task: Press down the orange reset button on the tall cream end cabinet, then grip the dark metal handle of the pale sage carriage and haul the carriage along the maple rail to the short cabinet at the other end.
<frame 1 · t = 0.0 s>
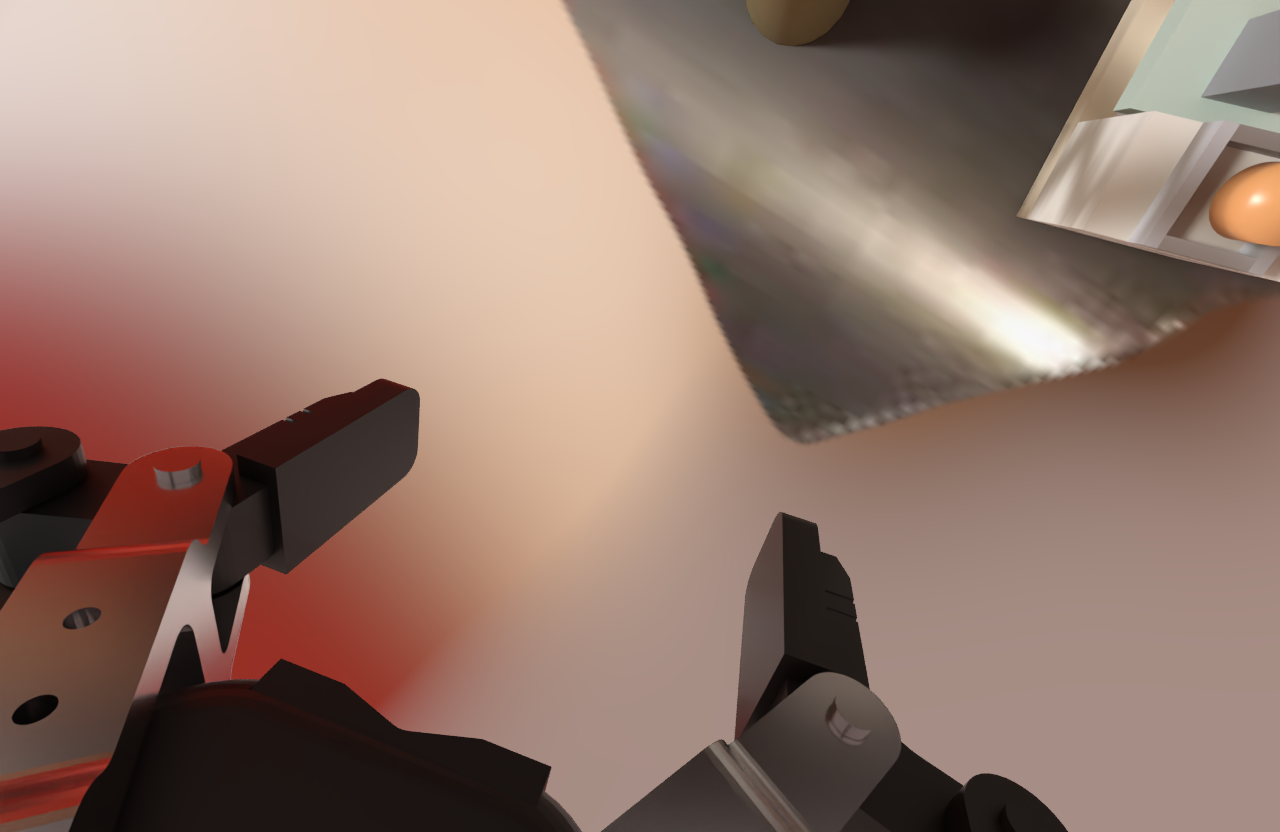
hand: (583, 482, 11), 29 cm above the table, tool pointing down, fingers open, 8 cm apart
reset button: (1275, 203, 21), point 11 cm above the table, slide at 0.0 cm
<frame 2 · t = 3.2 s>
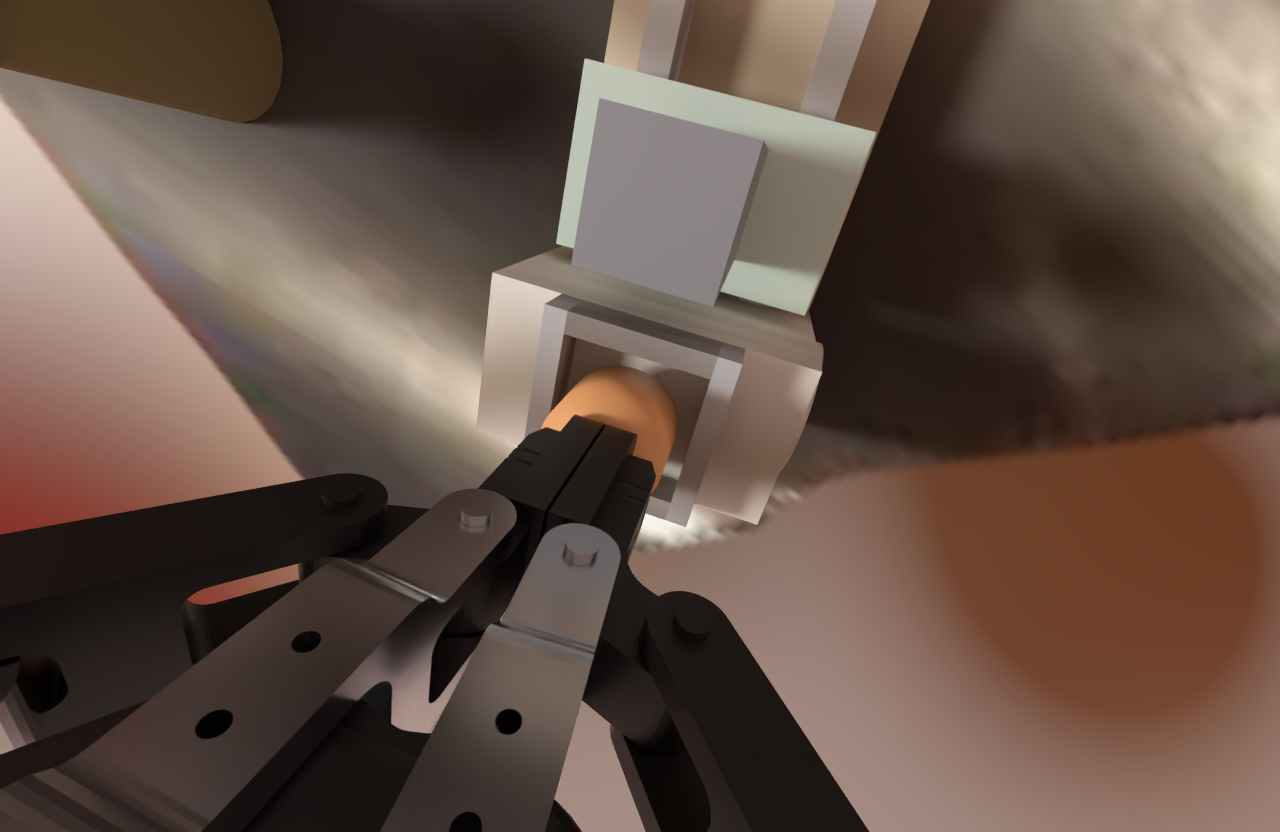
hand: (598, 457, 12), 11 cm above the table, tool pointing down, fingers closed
carriage: (688, 197, 13), point 7 cm above the table, slide at 4.5 cm
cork: (221, 38, 22), on the table
reset button: (611, 436, 13), point 10 cm above the table, slide at 0.8 cm, touching gripper
rail: (757, 42, 17), on the table
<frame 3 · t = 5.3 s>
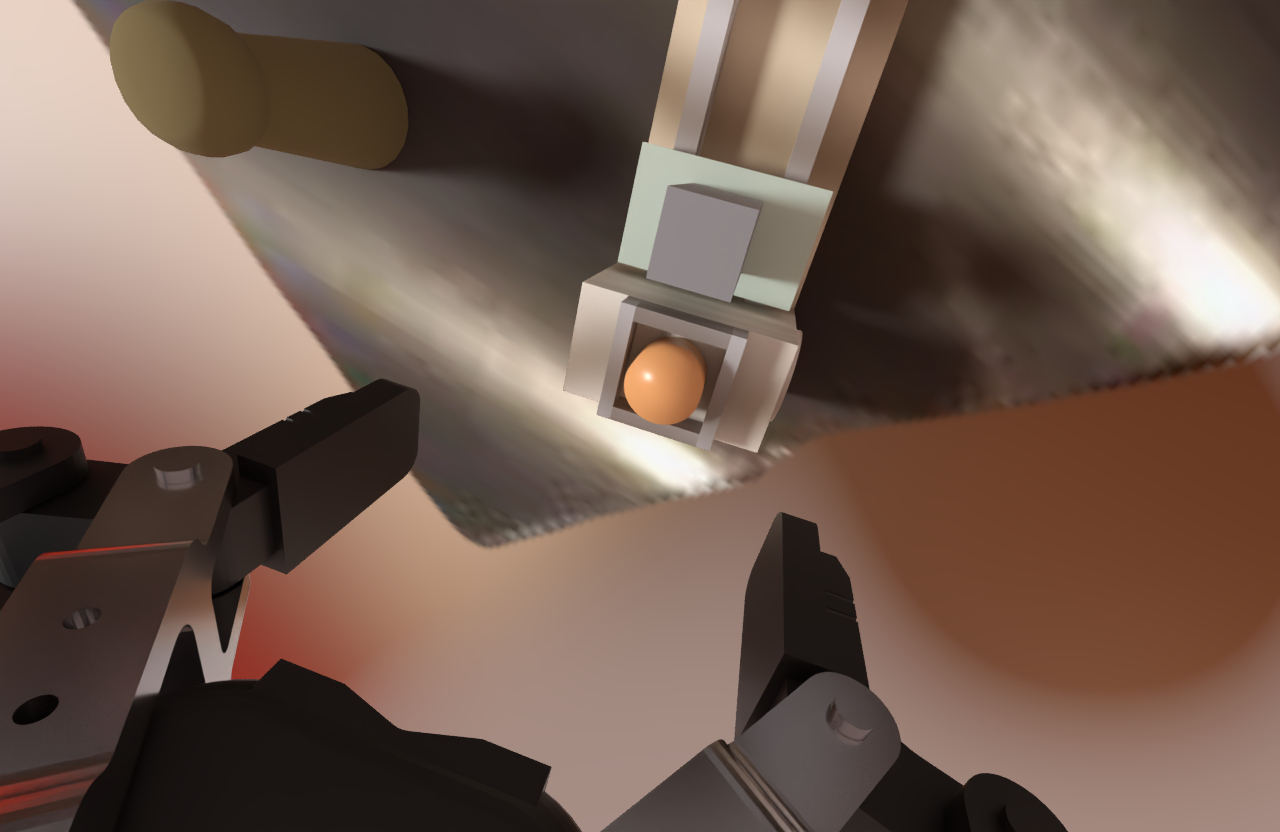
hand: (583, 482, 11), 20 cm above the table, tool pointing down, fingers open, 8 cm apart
carriage: (712, 234, 21), point 7 cm above the table, slide at 4.5 cm
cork: (361, 109, 29), on the table
reset button: (666, 380, 21), point 9 cm above the table, slide at 1.5 cm
rail: (756, 121, 25), on the table
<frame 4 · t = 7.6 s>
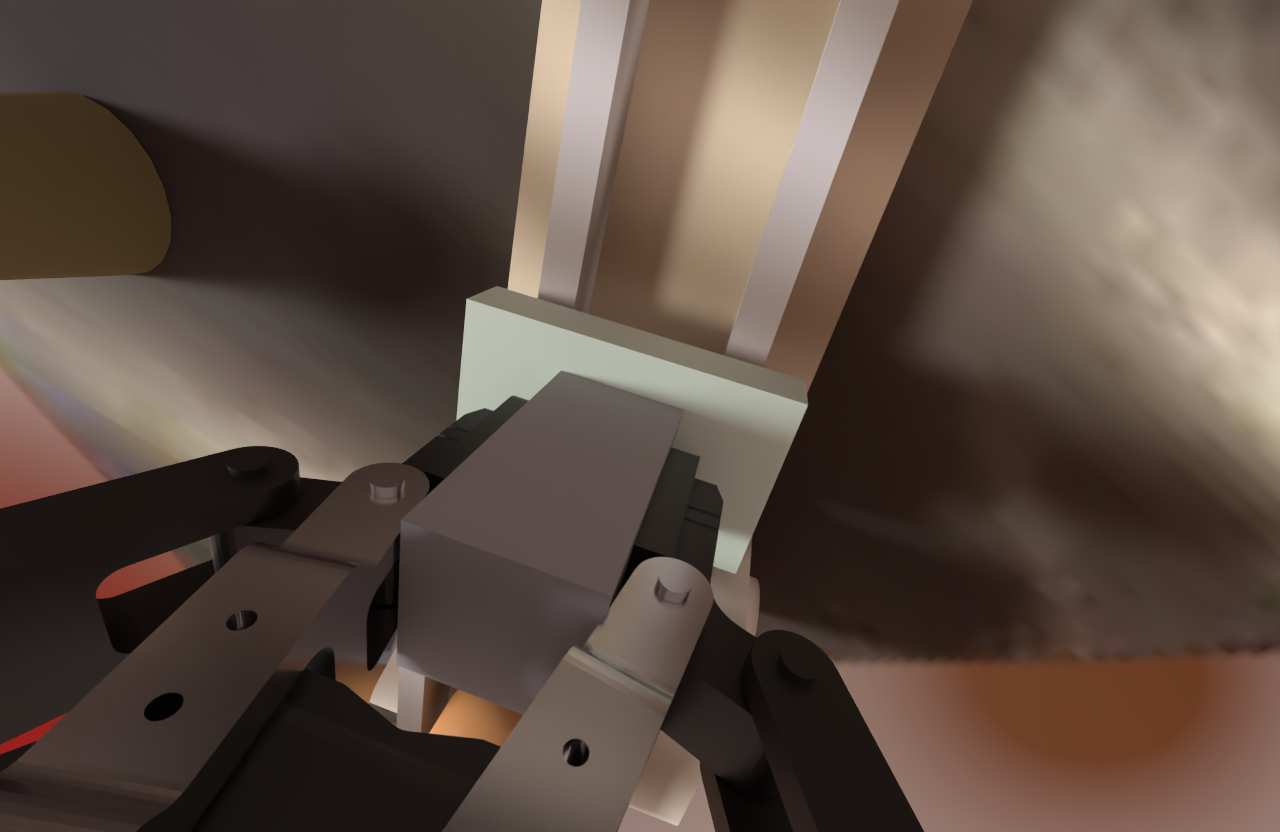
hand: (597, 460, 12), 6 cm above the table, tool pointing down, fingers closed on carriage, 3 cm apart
carriage: (578, 494, 11), point 7 cm above the table, slide at 4.5 cm, touching gripper
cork: (104, 188, 19), on the table
reset button: (499, 751, 12), point 9 cm above the table, slide at 1.5 cm
rail: (687, 234, 15), on the table
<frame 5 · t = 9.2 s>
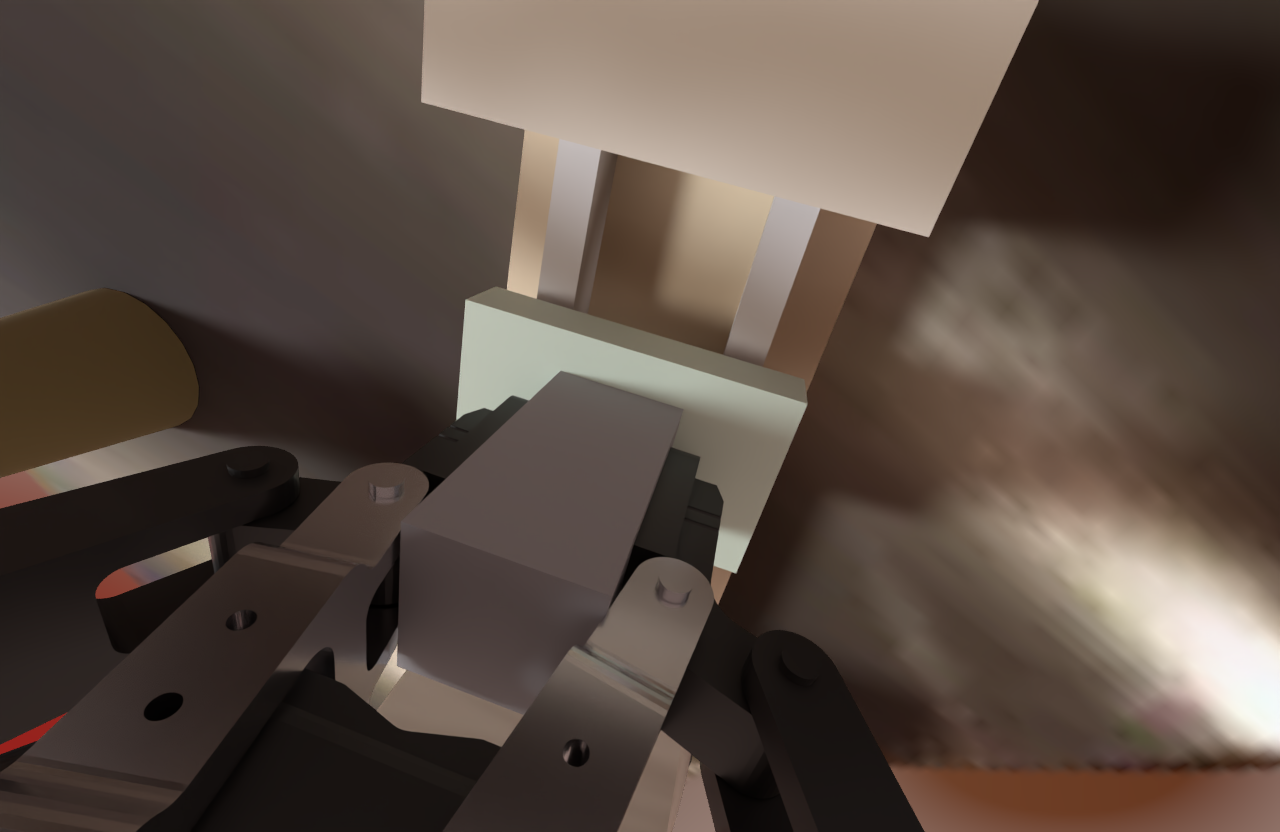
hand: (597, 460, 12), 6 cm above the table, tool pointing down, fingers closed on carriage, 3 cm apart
carriage: (578, 494, 11), point 7 cm above the table, slide at -2.2 cm, touching gripper
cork: (140, 359, 22), on the table
rail: (634, 434, 18), on the table
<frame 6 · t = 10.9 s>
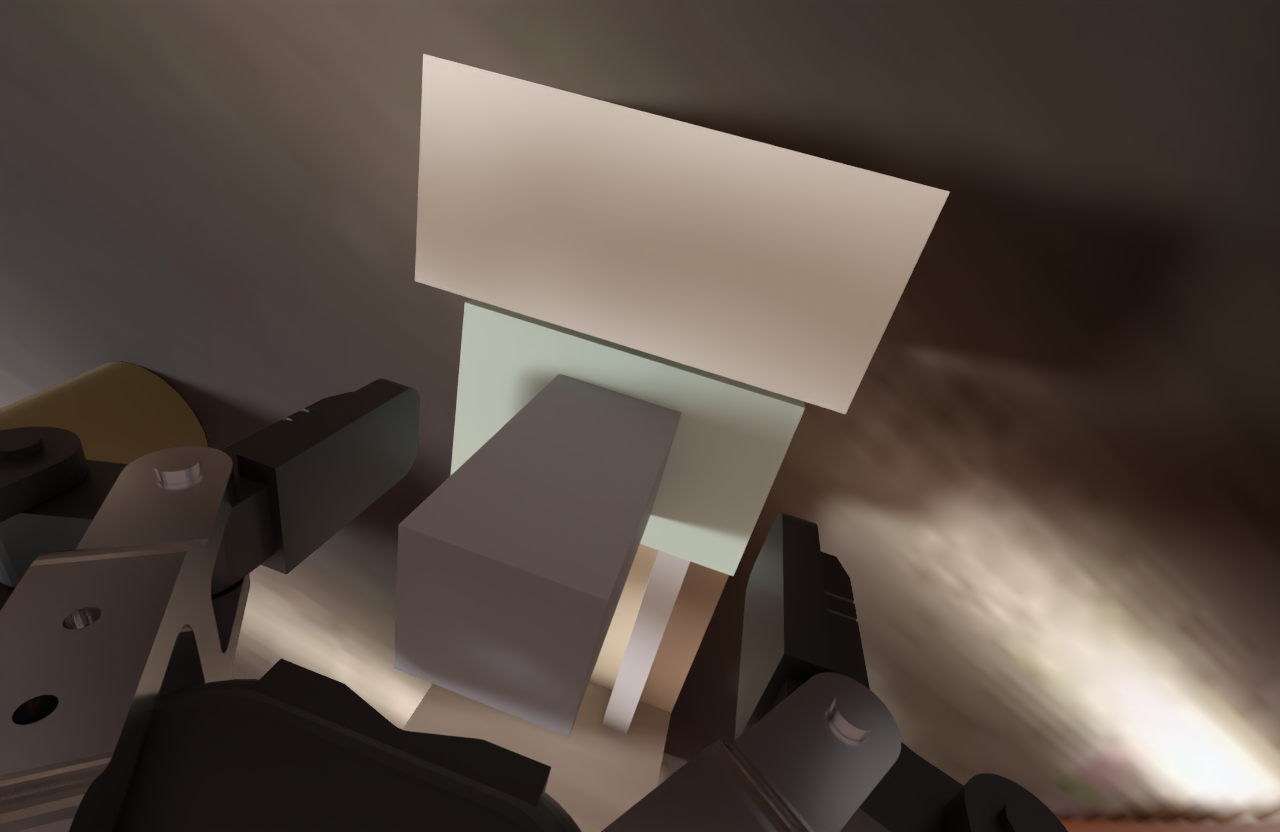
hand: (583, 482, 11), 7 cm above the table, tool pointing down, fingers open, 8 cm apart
carriage: (576, 497, 11), point 7 cm above the table, slide at -5.4 cm
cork: (154, 424, 24), on the table
rail: (614, 509, 20), on the table
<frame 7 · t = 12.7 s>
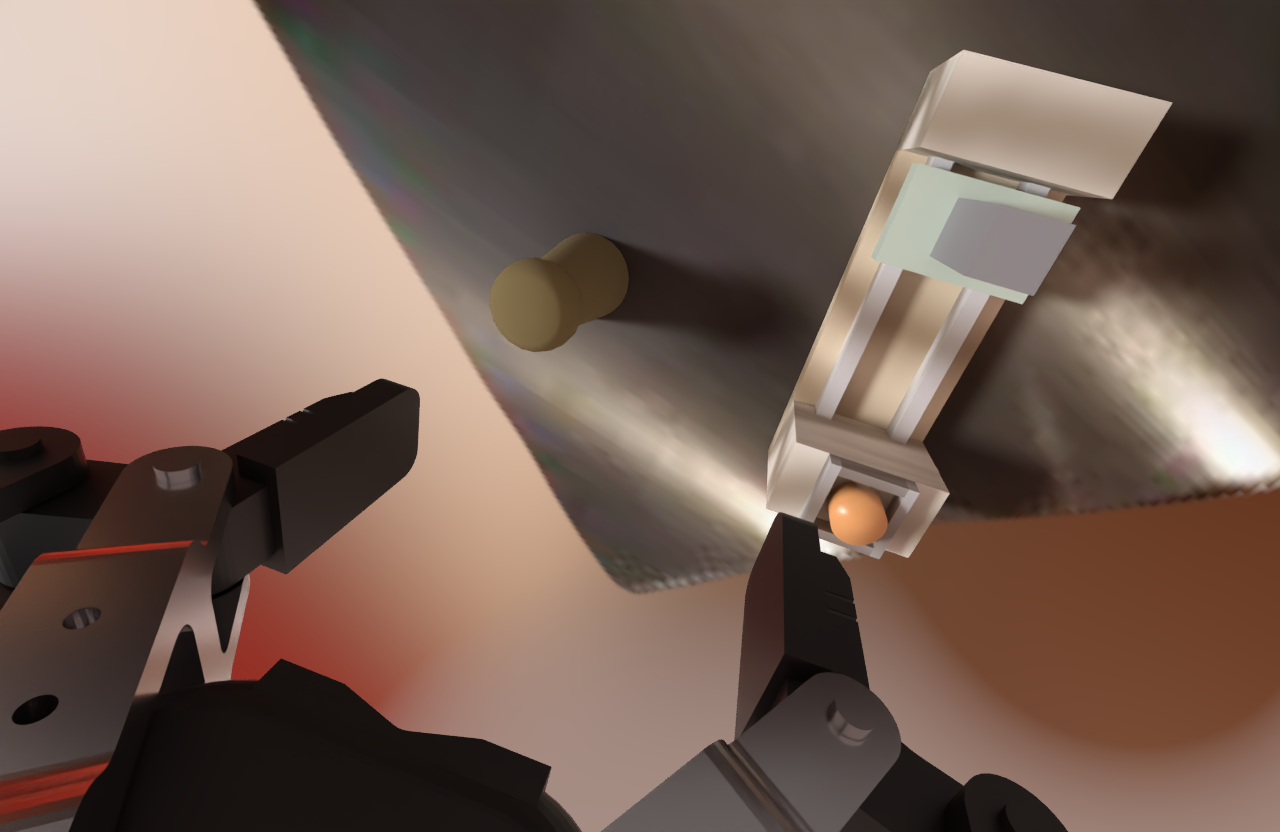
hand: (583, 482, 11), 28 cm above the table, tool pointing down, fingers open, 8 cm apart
carriage: (987, 240, 26), point 7 cm above the table, slide at -5.4 cm
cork: (589, 276, 39), on the table
reset button: (856, 513, 31), point 9 cm above the table, slide at 1.5 cm
rail: (904, 312, 35), on the table
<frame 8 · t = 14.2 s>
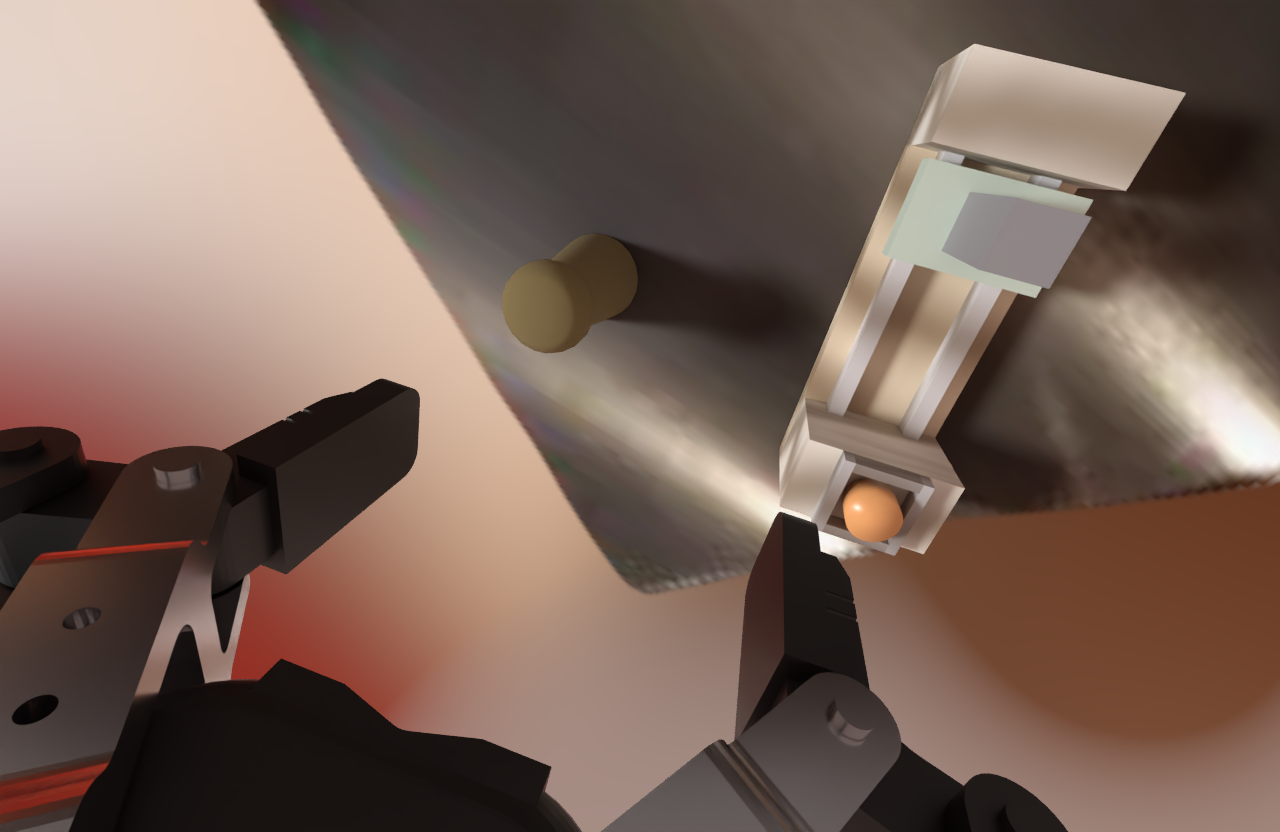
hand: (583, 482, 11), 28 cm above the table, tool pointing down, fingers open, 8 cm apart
carriage: (1000, 234, 26), point 7 cm above the table, slide at -5.4 cm
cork: (598, 276, 39), on the table
reset button: (871, 510, 31), point 9 cm above the table, slide at 1.5 cm
rail: (914, 307, 34), on the table
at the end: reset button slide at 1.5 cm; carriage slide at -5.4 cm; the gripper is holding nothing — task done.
